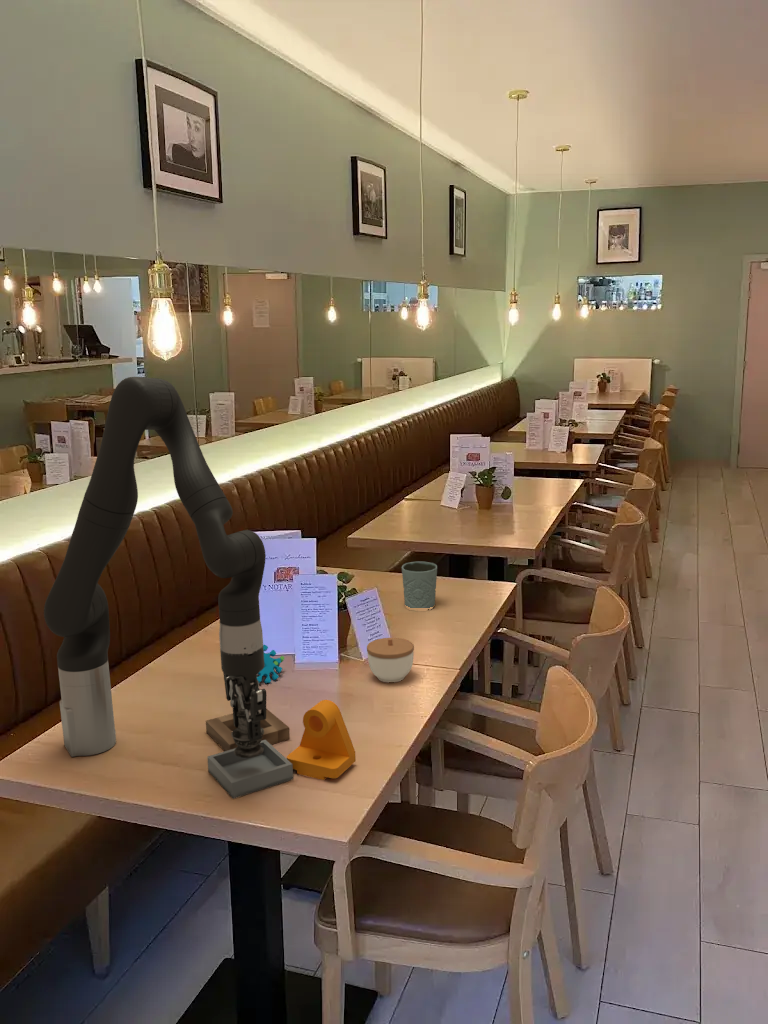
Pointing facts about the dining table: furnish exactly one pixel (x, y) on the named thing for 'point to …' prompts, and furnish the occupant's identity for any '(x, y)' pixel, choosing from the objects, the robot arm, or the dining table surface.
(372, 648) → the lidded jar
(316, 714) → the bracket
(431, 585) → the green embossed pot
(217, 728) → the frame
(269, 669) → the teal virus toy
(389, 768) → the dining table surface
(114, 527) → the robot arm
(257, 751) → the dark grey chess piece
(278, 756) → the grey tray
